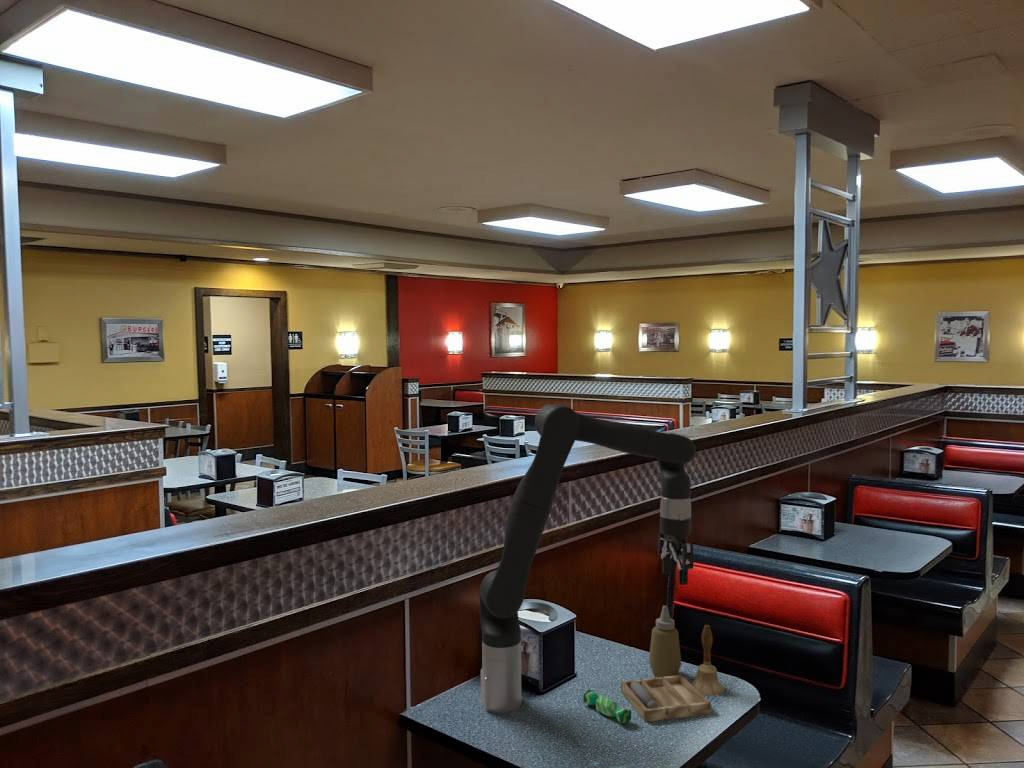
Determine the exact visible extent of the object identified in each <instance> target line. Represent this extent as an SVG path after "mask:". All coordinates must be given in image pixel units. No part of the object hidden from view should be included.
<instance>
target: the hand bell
mask: <svg viewBox="0 0 1024 768" xmlns="http://www.w3.org/2000/svg"><path fill="white" fill-rule="evenodd" d="M702 629H703V630H702V633H701V644H702V648H703V663H702V664H700V665H698V666H697V672H696V675H695V679H694V680H692V681H691V682H690V683H691V684H692V685H693V686H694V687H695V688H696V689H697V690H698V691H699V692H700V693H701V694H702V695H703V696H718V695H721V694H722V693H723V692H724V691H725V688H724V685H722V683H721V682H720V680H719V679H718V677H719V676H718V673H717V671H718V670H717V668H716V666H714V665H712V660H711V658H712V657H711V650H712V646H713V633H712V630H711V626H710V624H704V626H703V628H702Z"/></svg>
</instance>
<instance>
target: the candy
mask: <svg viewBox="0 0 1024 768" xmlns="http://www.w3.org/2000/svg"><path fill="white" fill-rule="evenodd" d="M582 700H583V704H587V705H589V706H595V710H596V711H598V712H599V713H601V714H603V715H605V716H607V717H609V718H610V719H611V718H615V719H616V720H617V722H619V724H622V725H627V724H628V723H629V722H630V721H631V719H632V710H630V709H627V708H625V707H623V708H622V707H619V706H618V703H617V702H616V701H613V700H612V699H610V698H608V697H607V696H605V695H602V694H600V695H598V694H597V693H596V691H595V690H592V689H591V688H590V689H587V690H586V692H584V693H583V699H582Z"/></svg>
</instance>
